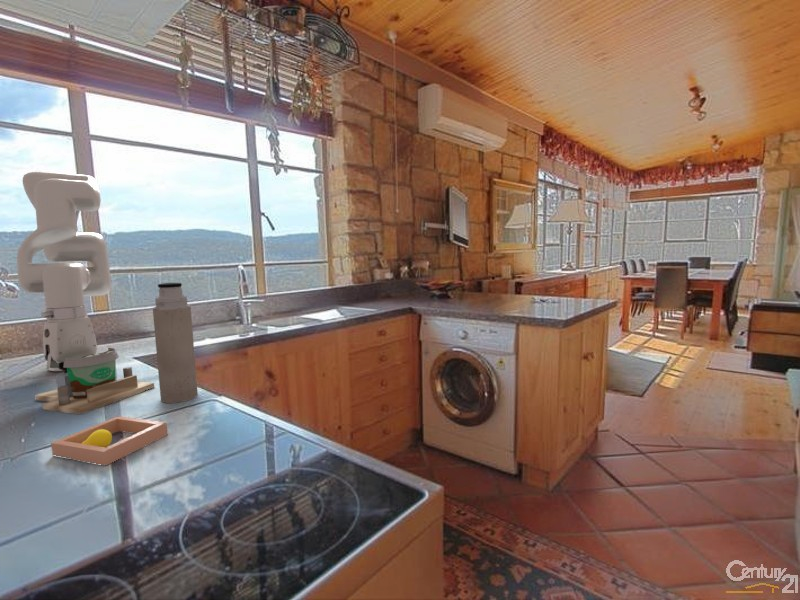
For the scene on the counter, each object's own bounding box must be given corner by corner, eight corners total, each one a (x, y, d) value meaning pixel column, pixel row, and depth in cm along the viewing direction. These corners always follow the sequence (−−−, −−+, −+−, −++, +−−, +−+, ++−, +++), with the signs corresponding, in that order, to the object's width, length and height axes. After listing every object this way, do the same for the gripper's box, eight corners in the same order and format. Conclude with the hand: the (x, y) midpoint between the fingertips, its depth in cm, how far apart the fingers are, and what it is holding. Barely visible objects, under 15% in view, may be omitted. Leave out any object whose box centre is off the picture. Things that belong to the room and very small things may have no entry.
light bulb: (117, 445, 77) (110, 432, 75) (79, 465, 73) (70, 451, 71) (112, 435, 79) (105, 422, 77) (74, 454, 75) (66, 440, 73)
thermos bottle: (182, 390, 107) (173, 281, 104) (205, 394, 104) (196, 281, 101) (153, 400, 100) (142, 284, 97) (176, 405, 97) (165, 284, 94)
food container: (88, 402, 97) (83, 359, 95) (67, 400, 98) (62, 359, 97) (133, 385, 108) (129, 347, 107) (114, 384, 110) (110, 347, 109)
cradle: (16, 405, 99) (13, 384, 98) (96, 381, 117) (94, 363, 116) (80, 414, 92) (77, 391, 92) (154, 387, 110) (152, 368, 110)
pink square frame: (52, 456, 73) (51, 442, 73) (119, 427, 84) (118, 416, 84) (105, 466, 69) (103, 451, 69) (167, 434, 81) (166, 422, 80)
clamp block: (58, 395, 101) (55, 375, 100) (99, 383, 110) (97, 364, 110) (66, 396, 100) (64, 376, 99) (107, 384, 109) (105, 365, 109)
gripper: (43, 319, 96) (52, 396, 98) (106, 310, 110) (113, 378, 112) (21, 318, 98) (30, 394, 100) (86, 309, 112) (93, 376, 114)
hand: (74, 385), depth 106 cm, fingers closed
